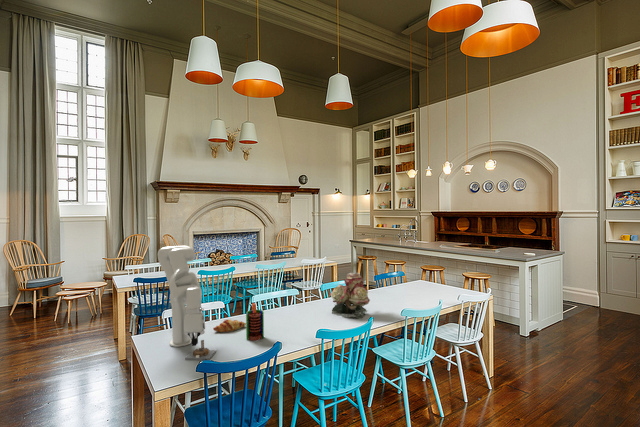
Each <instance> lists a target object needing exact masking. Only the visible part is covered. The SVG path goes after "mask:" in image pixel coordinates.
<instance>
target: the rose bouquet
mask: <svg viewBox="0 0 640 427" xmlns="http://www.w3.org/2000/svg"><path fill="white" fill-rule="evenodd" d="M343 281H344V283H345V285H342V284H338V285H336V287H335V288H334V289H332V291H331V292H330V294H329V295H330V297H331V298H332V303H333V305H334V307H332V309H331V314H332V315H334V316H335V315H336V316H341V317H342V318H356V319H357V320H359V319H362V318H364V316H366V315H367V313H368V311H367V309H366V307H364V306H367V305H368V304H369V303H370V301H371V299H370V298H369V297H368V296H369V294H368V293H369V289H367V287H366V286H364V281H365V279H364V278H363V277H362V276H361V273H360V272H356V273H354V272H351V271H350V272H349V273H347V274H346V278H345V279H343ZM334 303H335V304H334Z"/></svg>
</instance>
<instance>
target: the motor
mask: <svg viewBox="0 0 640 427" xmlns="http://www.w3.org/2000/svg"><path fill="white" fill-rule="evenodd" d="M251 308H252V309H251V310H248V311H246V312H245V318H246V319H245V323H246V326H245V327H246V328H245V329H246V336H245V337H246V338H245V339H246V341H256V342H257V341H259V340H262V339H265V337H264V336H265V333H264V332H265V330H264V327H265V326H264V322H265V320H264V319H265V318H264V311H263V310H262V309H257V305H256V303H251Z"/></svg>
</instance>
